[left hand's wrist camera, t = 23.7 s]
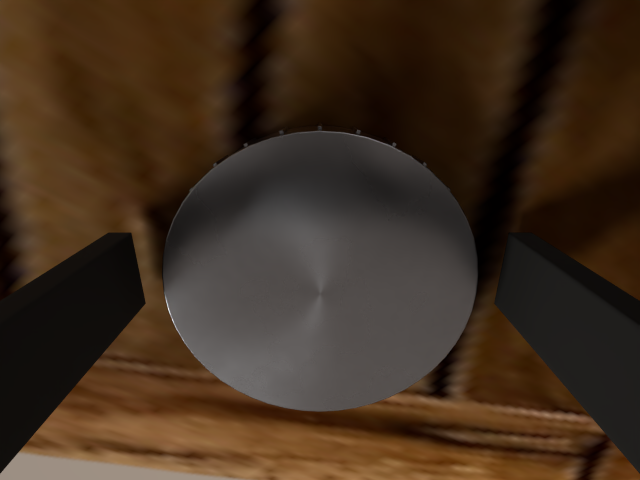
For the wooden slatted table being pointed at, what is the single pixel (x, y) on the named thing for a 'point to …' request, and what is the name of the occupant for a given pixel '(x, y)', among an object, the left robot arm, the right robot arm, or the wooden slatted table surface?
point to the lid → (320, 269)
